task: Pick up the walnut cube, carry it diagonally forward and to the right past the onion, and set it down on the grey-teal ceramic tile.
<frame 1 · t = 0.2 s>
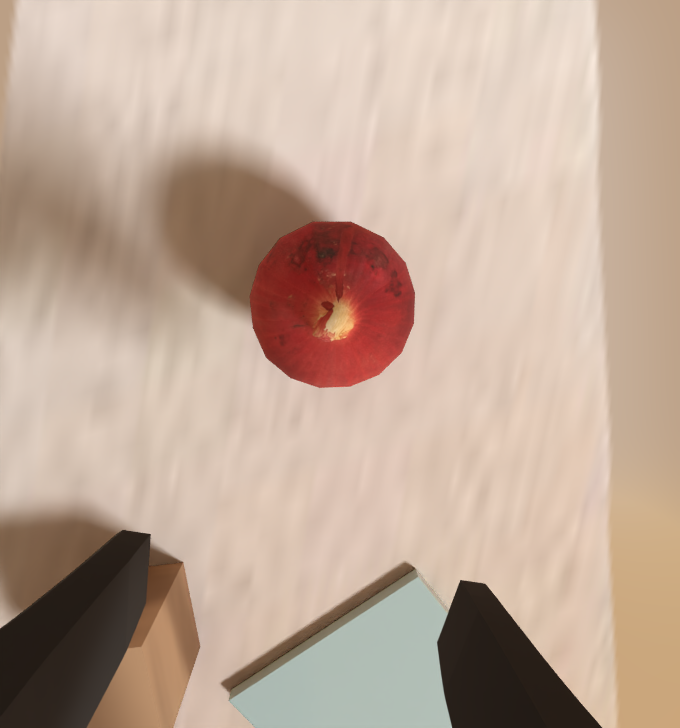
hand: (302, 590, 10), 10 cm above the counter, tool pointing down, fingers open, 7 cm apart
walnut cube: (143, 609, 21), on the counter
ceramic tile: (386, 704, 23), on the counter
onion: (330, 300, 19), on the counter
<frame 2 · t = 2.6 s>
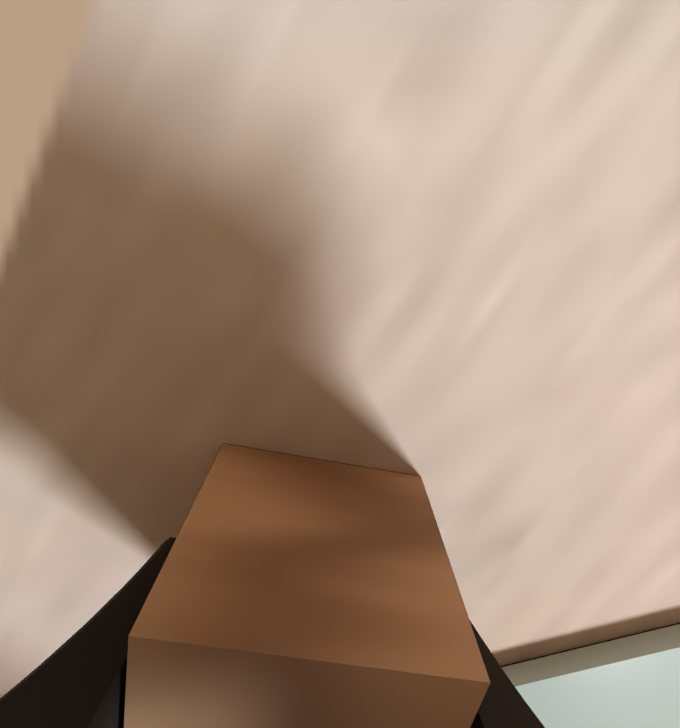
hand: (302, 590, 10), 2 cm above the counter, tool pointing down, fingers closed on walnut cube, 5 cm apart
walnut cube: (306, 540, 11), on the counter, touching gripper
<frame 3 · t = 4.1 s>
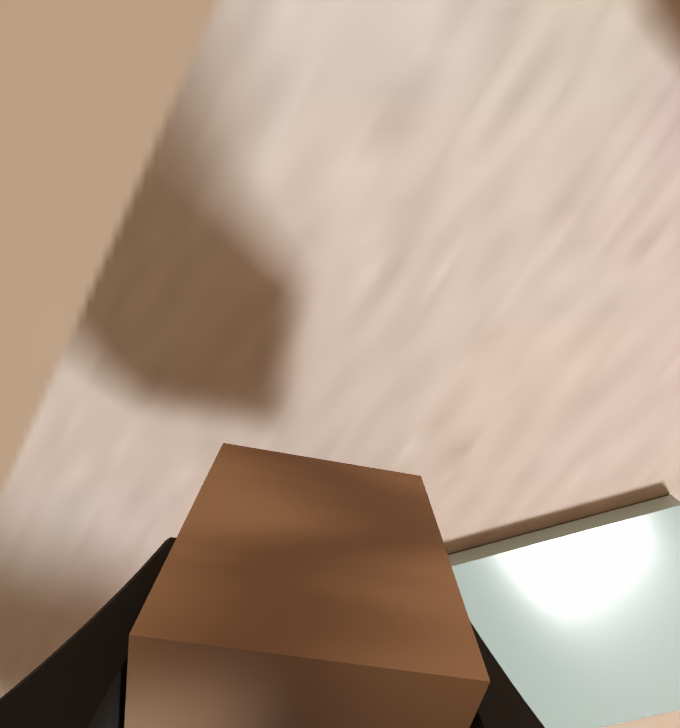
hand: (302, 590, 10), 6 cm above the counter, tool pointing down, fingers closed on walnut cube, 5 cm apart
walnut cube: (306, 539, 11), point 5 cm above the counter, touching gripper
ceramic tile: (544, 637, 19), on the counter
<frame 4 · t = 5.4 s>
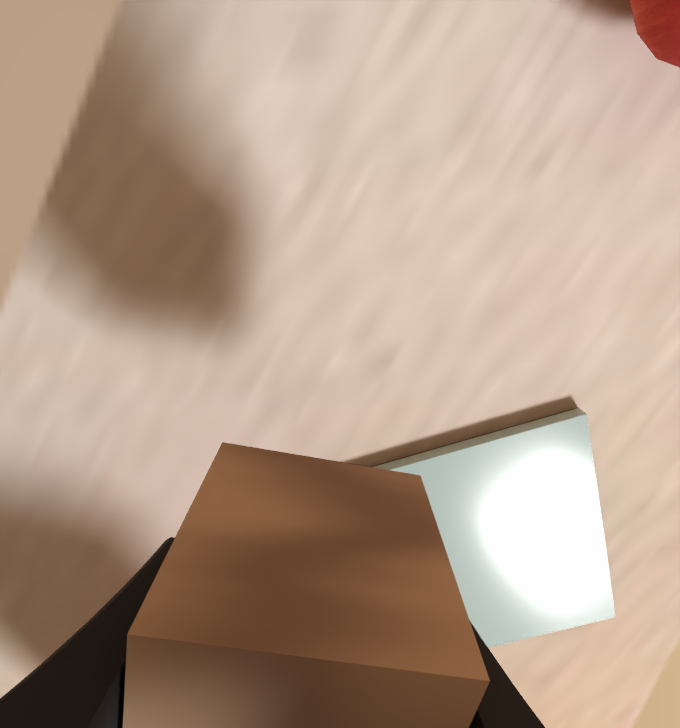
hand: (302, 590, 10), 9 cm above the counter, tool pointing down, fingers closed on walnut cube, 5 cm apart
walnut cube: (306, 539, 11), point 7 cm above the counter, touching gripper
ceramic tile: (471, 549, 21), on the counter
onion: (660, 4, 14), on the counter
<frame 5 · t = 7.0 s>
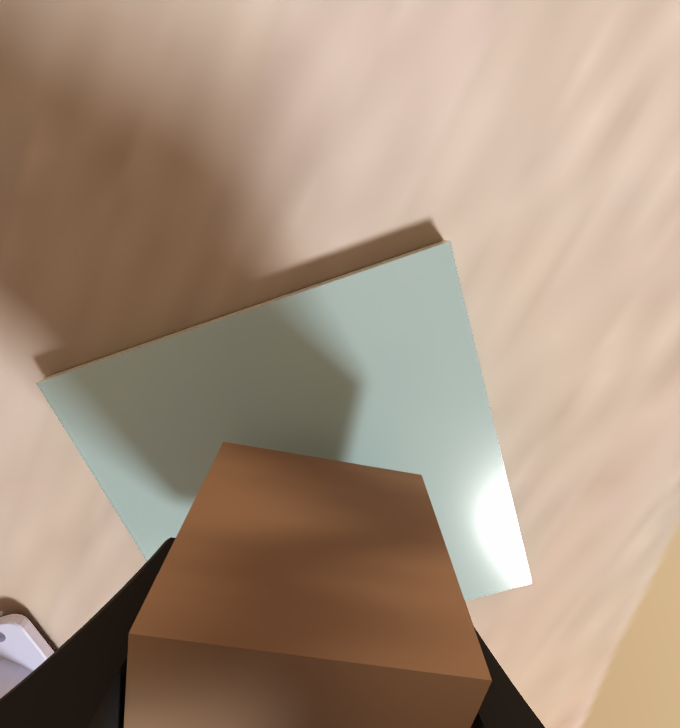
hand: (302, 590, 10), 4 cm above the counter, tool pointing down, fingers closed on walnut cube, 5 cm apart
walnut cube: (306, 538, 11), point 3 cm above the counter, touching gripper
ceramic tile: (310, 482, 14), on the counter
when the fingers open (3 cm above the counter, at t = 8.4 s): walnut cube stays where it is, resting on ceramic tile.
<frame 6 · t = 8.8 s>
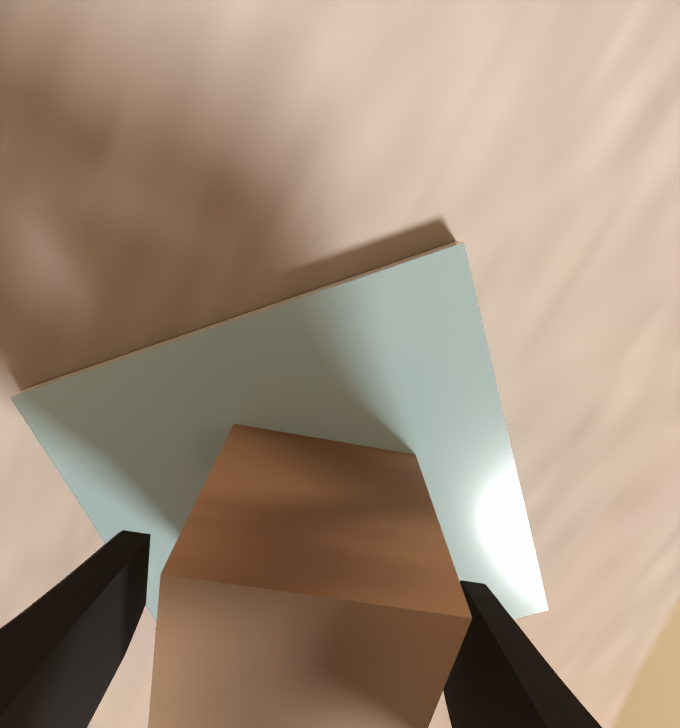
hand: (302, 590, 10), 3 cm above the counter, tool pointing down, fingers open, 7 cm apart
walnut cube: (310, 514, 12), point 1 cm above the counter, touching ceramic tile
ceramic tile: (310, 502, 13), on the counter
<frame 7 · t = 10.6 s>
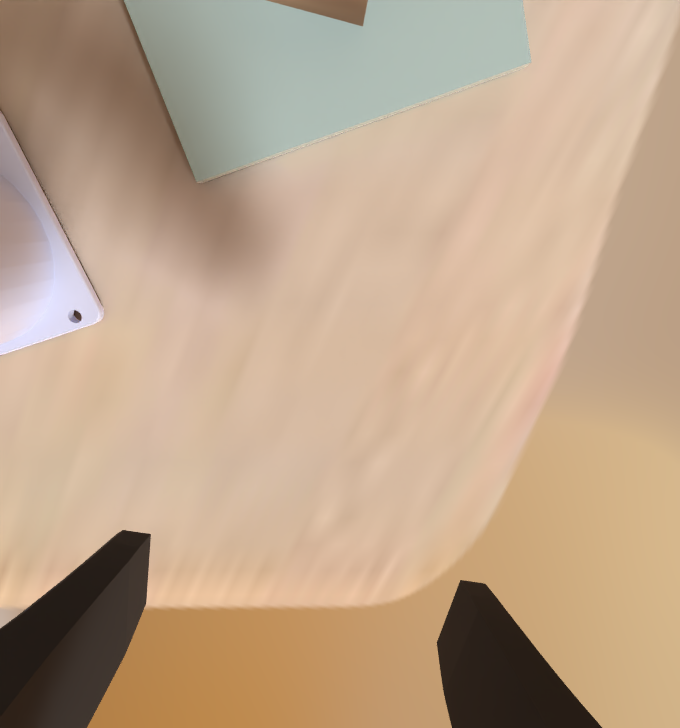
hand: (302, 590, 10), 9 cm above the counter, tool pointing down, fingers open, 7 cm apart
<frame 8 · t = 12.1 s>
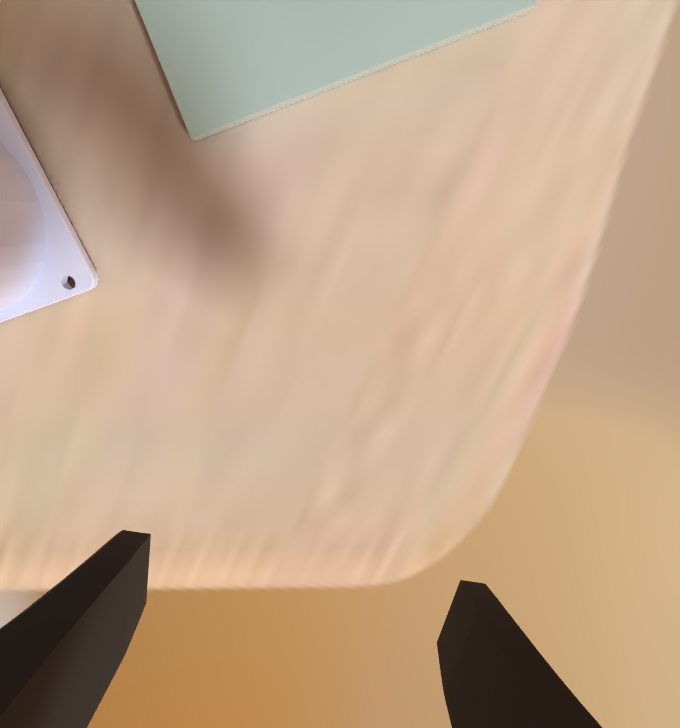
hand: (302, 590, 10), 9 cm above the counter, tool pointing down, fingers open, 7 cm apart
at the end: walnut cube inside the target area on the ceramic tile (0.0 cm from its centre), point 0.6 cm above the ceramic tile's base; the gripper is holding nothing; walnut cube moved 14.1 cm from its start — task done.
